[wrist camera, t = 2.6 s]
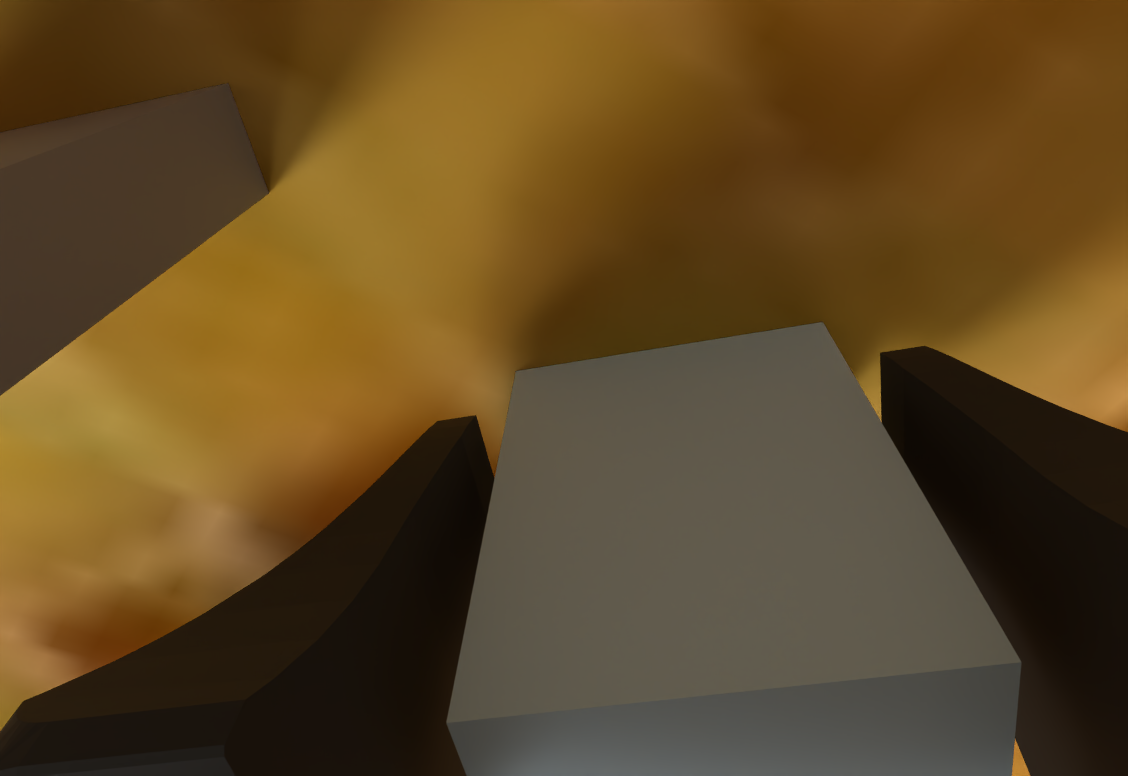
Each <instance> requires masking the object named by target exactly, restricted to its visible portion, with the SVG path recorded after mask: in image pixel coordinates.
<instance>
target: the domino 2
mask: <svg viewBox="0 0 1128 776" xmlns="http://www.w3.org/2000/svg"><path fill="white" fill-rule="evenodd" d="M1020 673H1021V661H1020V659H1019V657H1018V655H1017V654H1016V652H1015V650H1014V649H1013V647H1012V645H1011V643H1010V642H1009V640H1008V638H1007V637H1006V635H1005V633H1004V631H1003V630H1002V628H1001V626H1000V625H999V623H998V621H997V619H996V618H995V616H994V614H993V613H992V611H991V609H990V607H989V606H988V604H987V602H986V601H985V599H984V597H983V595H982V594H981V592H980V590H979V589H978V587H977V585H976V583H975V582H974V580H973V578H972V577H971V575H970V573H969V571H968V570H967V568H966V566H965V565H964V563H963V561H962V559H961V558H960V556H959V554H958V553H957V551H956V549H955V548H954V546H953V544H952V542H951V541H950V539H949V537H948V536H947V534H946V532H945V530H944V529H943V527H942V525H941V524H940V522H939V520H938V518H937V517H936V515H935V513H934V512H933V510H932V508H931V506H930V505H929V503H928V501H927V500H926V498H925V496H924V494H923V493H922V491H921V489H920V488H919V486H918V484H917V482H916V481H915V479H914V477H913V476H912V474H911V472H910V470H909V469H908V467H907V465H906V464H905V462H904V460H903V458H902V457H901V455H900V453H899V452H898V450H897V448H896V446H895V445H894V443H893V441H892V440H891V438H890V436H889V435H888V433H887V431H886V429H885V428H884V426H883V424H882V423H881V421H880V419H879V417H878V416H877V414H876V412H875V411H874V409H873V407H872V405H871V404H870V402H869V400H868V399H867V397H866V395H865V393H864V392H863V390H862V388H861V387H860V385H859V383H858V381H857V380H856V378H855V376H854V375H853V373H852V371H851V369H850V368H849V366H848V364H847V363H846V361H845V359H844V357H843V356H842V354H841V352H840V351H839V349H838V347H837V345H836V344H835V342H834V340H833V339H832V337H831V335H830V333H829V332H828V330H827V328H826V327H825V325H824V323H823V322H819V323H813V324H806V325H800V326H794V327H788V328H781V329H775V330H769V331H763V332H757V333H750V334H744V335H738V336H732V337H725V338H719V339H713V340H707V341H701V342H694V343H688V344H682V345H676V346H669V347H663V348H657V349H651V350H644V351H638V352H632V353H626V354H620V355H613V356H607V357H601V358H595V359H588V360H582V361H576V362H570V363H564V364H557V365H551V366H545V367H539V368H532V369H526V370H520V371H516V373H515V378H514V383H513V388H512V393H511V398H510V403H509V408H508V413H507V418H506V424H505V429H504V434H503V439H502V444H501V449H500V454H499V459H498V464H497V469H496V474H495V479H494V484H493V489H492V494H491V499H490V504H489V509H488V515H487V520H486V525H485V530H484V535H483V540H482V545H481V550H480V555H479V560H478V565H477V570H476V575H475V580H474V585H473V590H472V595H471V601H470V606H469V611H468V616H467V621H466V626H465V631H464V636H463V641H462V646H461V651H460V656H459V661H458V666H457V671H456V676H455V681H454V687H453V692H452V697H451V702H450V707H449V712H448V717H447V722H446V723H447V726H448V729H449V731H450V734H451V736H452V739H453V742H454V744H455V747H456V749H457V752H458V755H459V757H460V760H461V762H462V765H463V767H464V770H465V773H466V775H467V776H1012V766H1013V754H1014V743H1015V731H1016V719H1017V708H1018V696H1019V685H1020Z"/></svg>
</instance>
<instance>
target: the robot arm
mask: <svg viewBox="0 0 1128 776" xmlns="http://www.w3.org/2000/svg"><path fill="white" fill-rule="evenodd" d="M880 365H881V414H882V424H883V426H884V428H885V429H886V431H887V433H888V435H889V436H890V438H891V440H892V441H893V443H894V445H895V446H896V448H897V450H898V452H899V453H900V455H901V457H902V458H903V460H904V462H905V464H906V465H907V467H908V469H909V470H910V472H911V474H912V476H913V477H914V479H915V481H916V482H917V484H918V486H919V488H920V489H921V491H922V493H923V494H924V496H925V498H926V500H927V501H928V503H929V505H930V506H931V508H932V510H933V512H934V513H935V515H936V517H937V518H938V520H939V522H940V524H941V525H942V527H943V529H944V530H945V532H946V534H947V536H948V537H949V539H950V541H951V542H952V544H953V546H954V548H955V549H956V551H957V553H958V554H959V556H960V558H961V559H962V561H963V563H964V565H965V566H966V568H967V570H968V571H969V573H970V575H971V577H972V578H973V580H974V582H975V583H976V585H977V587H978V589H979V590H980V592H981V594H982V595H983V597H984V599H985V601H986V602H987V604H988V606H989V607H990V609H991V611H992V613H993V614H994V616H995V618H996V619H997V621H998V623H999V625H1000V626H1001V628H1002V630H1003V631H1004V633H1005V635H1006V637H1007V638H1008V640H1009V642H1010V643H1011V645H1012V647H1013V649H1014V650H1015V652H1016V654H1017V655H1018V657H1019V659H1020V661H1021V673H1020V685H1019V696H1018V708H1017V719H1016V731H1015V739H1016V741H1017V744H1018V746H1019V749H1020V751H1021V753H1022V756H1023V758H1024V761H1025V763H1026V766H1027V768H1028V770H1029V773H1030V775H1031V776H1128V432H1125V431H1122V430H1119V429H1117V428H1114V427H1111V426H1108V425H1106V424H1103V423H1100V422H1098V421H1095V420H1093V419H1090V418H1088V417H1085V416H1082V415H1080V414H1077V413H1075V412H1072V411H1070V410H1067V409H1065V408H1062V407H1060V406H1057V405H1055V404H1053V403H1050V402H1048V401H1046V400H1043V399H1041V398H1039V397H1036V396H1034V395H1032V394H1030V393H1027V392H1025V391H1023V390H1021V389H1019V388H1016V387H1014V386H1012V385H1010V384H1008V383H1006V382H1003V381H1001V380H999V379H997V378H995V377H993V376H991V375H989V374H987V373H984V372H982V371H980V370H978V369H976V368H974V367H972V366H970V365H968V364H966V363H963V362H961V361H959V360H957V359H955V358H953V357H951V356H948V355H946V354H944V353H942V352H939V351H937V350H934V349H932V348H929V347H926V346H921V347H915V348H908V349H902V350H895V351H889V352H882V353H880ZM493 484H494V476H493V473H492V469H491V466H490V462H489V459H488V455H487V452H486V448H485V445H484V441H483V438H482V434H481V431H480V427H479V424H478V420H477V417H476V415H475V416H468V417H462V418H455V419H449V420H442V421H437V422H436V423H435V424H434V425H433V426H431V427H430V428H429V429H428V430H427V431H426V432H425V433H424V434H423V435H422V436H421V437H420V438H419V439H418V440H417V441H416V442H415V443H414V444H413V445H412V446H411V447H410V448H409V449H408V450H407V451H406V452H405V453H404V454H403V455H402V456H401V457H400V458H399V459H398V460H397V461H396V462H395V463H394V464H393V465H392V466H391V467H390V468H389V469H388V470H387V471H386V472H385V473H384V474H383V475H382V476H381V477H380V478H379V479H378V480H377V481H376V482H375V483H374V484H373V485H372V486H371V487H370V488H369V489H368V490H367V491H366V492H365V493H363V494H362V495H361V496H360V497H359V498H358V499H357V500H356V501H355V502H353V503H352V504H351V505H350V506H349V507H348V508H347V509H346V510H345V511H344V512H342V513H341V514H340V515H339V516H338V517H337V518H336V519H335V520H334V521H332V522H331V523H330V524H329V525H328V526H327V527H326V528H325V529H324V530H322V531H321V532H320V533H319V534H318V535H316V536H315V537H314V538H313V539H311V540H310V541H309V542H308V543H306V544H305V545H304V546H303V547H301V548H300V549H299V550H298V551H296V552H295V553H294V554H292V555H291V556H290V557H288V558H287V559H285V560H284V561H283V562H281V563H280V564H279V565H277V566H276V567H275V568H273V569H272V570H271V571H269V572H268V573H266V574H265V575H263V576H262V577H261V578H259V579H258V580H256V581H254V582H253V583H251V584H250V585H248V586H247V587H245V588H243V589H242V590H240V591H239V592H237V593H236V594H234V595H232V596H231V597H229V598H228V599H226V600H225V601H223V602H221V603H220V604H218V605H217V606H215V607H214V608H212V609H210V610H209V611H207V612H206V613H204V614H202V615H201V616H199V617H197V618H195V619H194V620H192V621H190V622H188V623H187V624H185V625H183V626H181V627H179V628H178V629H176V630H174V631H172V632H170V633H169V634H167V635H165V636H163V637H161V638H159V639H157V640H155V641H153V642H151V643H149V644H148V645H146V646H144V647H142V648H140V649H138V650H136V651H134V652H132V653H130V654H128V655H126V656H124V657H122V658H120V659H118V660H116V661H114V662H112V663H109V664H107V665H105V666H103V667H100V668H98V669H96V670H94V671H91V672H89V673H87V674H85V675H82V676H80V677H78V678H76V679H73V680H71V681H69V682H67V683H65V684H62V685H60V686H58V687H56V688H53V689H51V690H49V691H47V692H44V693H42V694H39V695H37V696H35V697H32V698H30V699H27V700H25V701H23V702H22V704H21V705H20V706H19V707H18V709H17V710H16V711H15V713H14V714H13V715H12V717H11V718H10V719H9V721H8V722H7V723H6V725H5V726H4V727H3V729H2V730H1V731H0V776H467V775H466V773H465V770H464V767H463V765H462V762H461V760H460V757H459V755H458V752H457V749H456V747H455V744H454V742H453V739H452V736H451V734H450V731H449V729H448V726H447V723H446V722H447V717H448V712H449V707H450V702H451V697H452V692H453V687H454V681H455V676H456V671H457V666H458V661H459V656H460V651H461V646H462V641H463V636H464V631H465V626H466V621H467V616H468V611H469V606H470V601H471V595H472V590H473V585H474V580H475V575H476V570H477V565H478V560H479V555H480V550H481V545H482V540H483V535H484V530H485V525H486V520H487V515H488V509H489V504H490V499H491V494H492V489H493Z"/></svg>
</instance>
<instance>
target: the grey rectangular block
mask: <svg viewBox="0 0 1128 776" xmlns="http://www.w3.org/2000/svg"><path fill="white" fill-rule="evenodd" d="M267 194H269V192H268V189H267V186H266V184H265V181H264V178H263V176H262V173H261V170H260V168H259V165H258V162H257V159H256V157H255V154H254V151H253V149H252V146H251V143H250V141H249V138H248V135H247V132H246V130H245V127H244V124H243V122H242V119H241V116H240V114H239V111H238V108H237V105H236V103H235V100H234V97H233V95H232V92H231V89H230V87H229V84H228V83H226V84H221V85H217V86H212V87H208V88H203V89H198V90H194V91H189V92H184V93H180V94H175V95H171V96H166V97H161V98H157V99H152V100H148V101H143V102H138V103H134V104H129V105H124V106H120V107H115V108H111V109H106V110H101V111H97V112H92V113H87V114H83V115H78V116H74V117H69V118H64V119H60V120H55V121H50V122H46V123H41V124H37V125H32V126H27V127H23V128H18V129H13V130H9V131H4V132H0V395H2V394H3V393H4V392H6V391H7V390H8V389H10V388H11V387H12V386H14V385H15V384H16V383H18V382H19V381H20V380H22V379H23V378H24V377H26V376H27V375H28V374H30V373H31V372H32V371H34V370H35V369H36V368H38V367H39V366H40V365H42V364H43V363H44V362H46V361H47V360H48V359H50V358H51V357H52V356H54V355H55V354H56V353H58V352H59V351H60V350H61V349H63V348H64V347H65V346H67V345H68V344H69V343H71V342H72V341H73V340H75V339H76V338H77V337H79V336H80V335H81V334H83V333H84V332H85V331H87V330H88V329H89V328H91V327H92V326H93V325H95V324H96V323H97V322H99V321H100V320H101V319H103V318H104V317H105V316H107V315H108V314H109V313H111V312H112V311H113V310H115V309H116V308H117V307H119V306H120V305H121V304H123V303H124V302H125V301H127V300H128V299H129V298H131V297H132V296H133V295H134V294H136V293H137V292H138V291H140V290H141V289H142V288H144V287H145V286H146V285H148V284H149V283H150V282H152V281H153V280H154V279H156V278H157V277H158V276H160V275H161V274H162V273H164V272H165V271H166V270H168V269H169V268H170V267H172V266H173V265H174V264H176V263H177V262H178V261H180V260H181V259H182V258H184V257H185V256H186V255H188V254H189V253H190V252H192V251H193V250H194V249H196V248H197V247H198V246H200V245H201V244H202V243H204V242H205V241H206V240H207V239H209V238H210V237H211V236H213V235H214V234H215V233H217V232H218V231H219V230H221V229H222V228H223V227H225V226H226V225H227V224H229V223H230V222H231V221H233V220H234V219H235V218H237V217H238V216H239V215H241V214H242V213H243V212H245V211H246V210H247V209H249V208H250V207H251V206H253V205H254V204H255V203H257V202H258V201H259V200H261V199H262V198H263V197H265V196H266V195H267Z"/></svg>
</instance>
